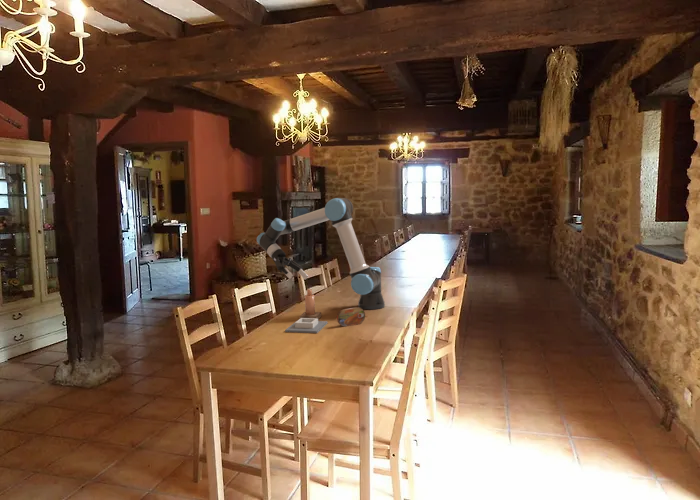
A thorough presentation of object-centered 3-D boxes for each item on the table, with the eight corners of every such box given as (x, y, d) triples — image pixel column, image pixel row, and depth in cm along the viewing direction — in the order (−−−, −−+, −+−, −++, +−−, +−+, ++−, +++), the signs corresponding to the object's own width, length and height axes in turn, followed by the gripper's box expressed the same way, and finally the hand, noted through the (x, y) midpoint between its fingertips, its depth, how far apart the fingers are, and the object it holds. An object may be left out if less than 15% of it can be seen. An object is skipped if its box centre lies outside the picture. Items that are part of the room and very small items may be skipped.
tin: (338, 327, 248) (338, 310, 247) (336, 326, 251) (335, 309, 250) (365, 323, 255) (365, 306, 254) (362, 321, 258) (362, 305, 257)
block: (321, 316, 271) (321, 312, 270) (316, 321, 262) (316, 316, 262) (305, 316, 273) (304, 311, 272) (299, 320, 264) (299, 315, 264)
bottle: (316, 312, 269) (315, 288, 267) (313, 315, 264) (312, 290, 262) (307, 312, 270) (306, 288, 268) (304, 314, 265) (303, 290, 264)
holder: (327, 323, 257) (327, 316, 256) (317, 333, 240) (316, 326, 239) (297, 322, 261) (297, 315, 260) (285, 332, 243) (284, 324, 243)
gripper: (286, 259, 297) (309, 283, 288) (258, 257, 276) (281, 282, 267) (293, 249, 295) (316, 273, 286) (265, 246, 274) (288, 271, 264)
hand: (299, 277), depth 276 cm, fingers open, 13 cm apart
